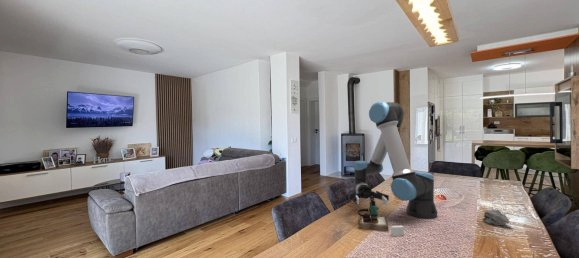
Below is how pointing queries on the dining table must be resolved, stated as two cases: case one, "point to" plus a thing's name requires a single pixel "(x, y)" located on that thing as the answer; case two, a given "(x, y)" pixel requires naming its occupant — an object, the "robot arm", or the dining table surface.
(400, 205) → the dining table surface
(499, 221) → the mineral specimen
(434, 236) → the dining table surface
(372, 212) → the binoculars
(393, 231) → the price sign
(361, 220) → the plinth
